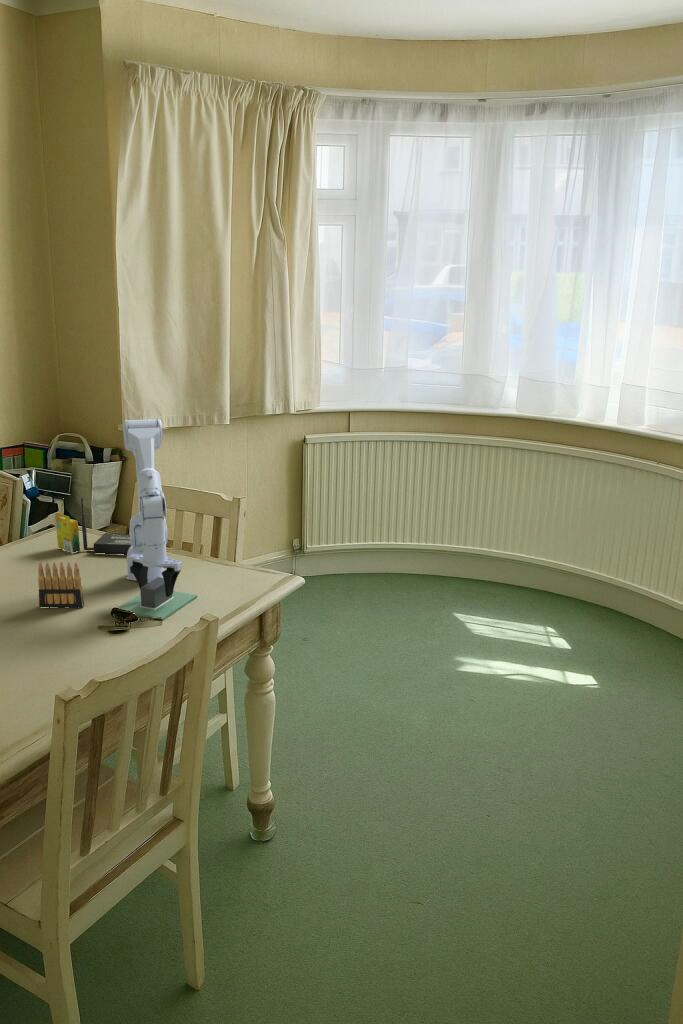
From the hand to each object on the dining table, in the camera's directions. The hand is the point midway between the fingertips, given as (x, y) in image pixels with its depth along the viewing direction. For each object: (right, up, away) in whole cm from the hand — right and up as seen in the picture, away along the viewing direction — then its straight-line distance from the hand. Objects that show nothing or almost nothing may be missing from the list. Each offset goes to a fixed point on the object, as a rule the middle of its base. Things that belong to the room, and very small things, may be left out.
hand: (156, 592), depth 216 cm
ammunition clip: (-24, -4, -1) cm, 24 cm away
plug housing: (0, -2, +1) cm, 2 cm away
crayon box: (-35, +9, +39) cm, 53 cm away
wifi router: (-20, +9, +41) cm, 46 cm away
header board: (0, -3, +1) cm, 3 cm away
